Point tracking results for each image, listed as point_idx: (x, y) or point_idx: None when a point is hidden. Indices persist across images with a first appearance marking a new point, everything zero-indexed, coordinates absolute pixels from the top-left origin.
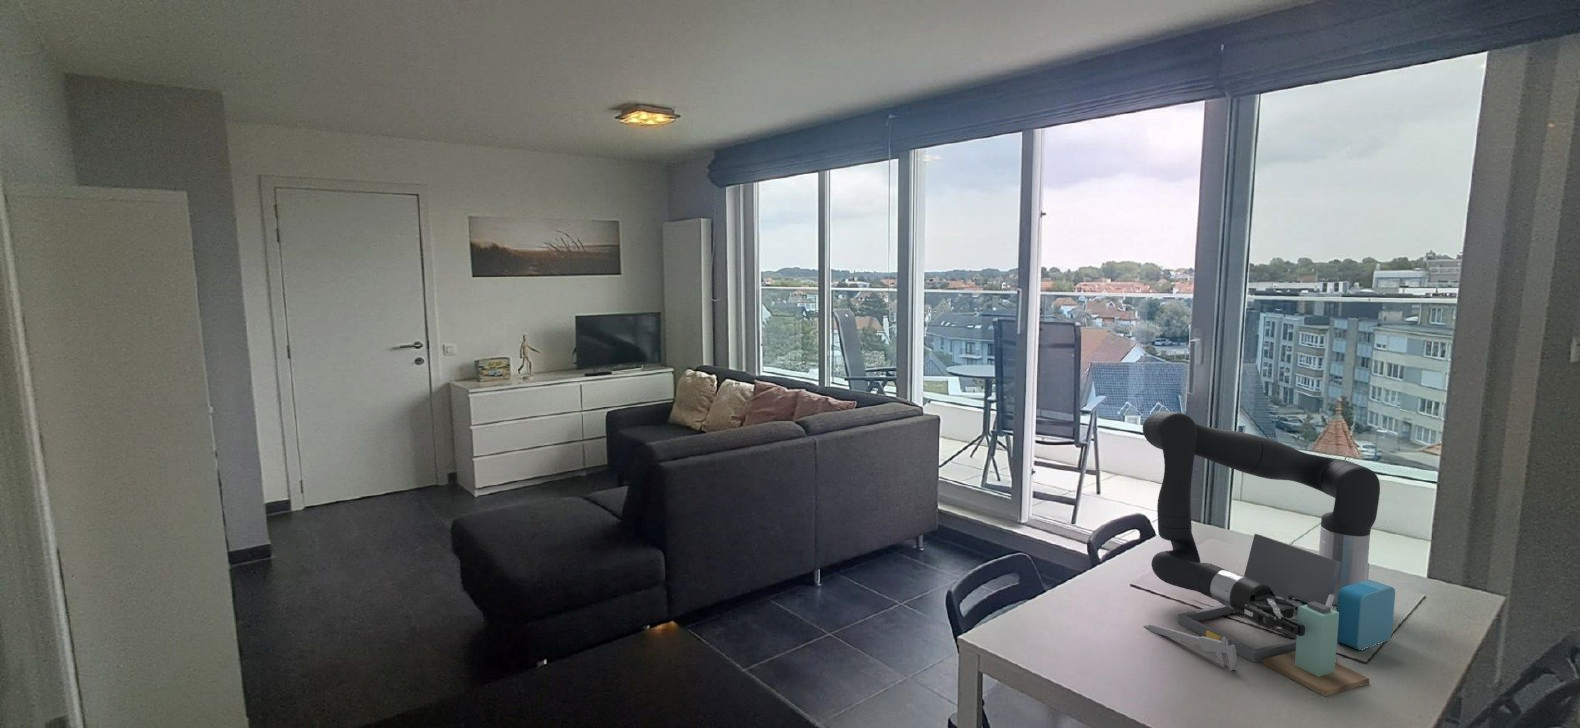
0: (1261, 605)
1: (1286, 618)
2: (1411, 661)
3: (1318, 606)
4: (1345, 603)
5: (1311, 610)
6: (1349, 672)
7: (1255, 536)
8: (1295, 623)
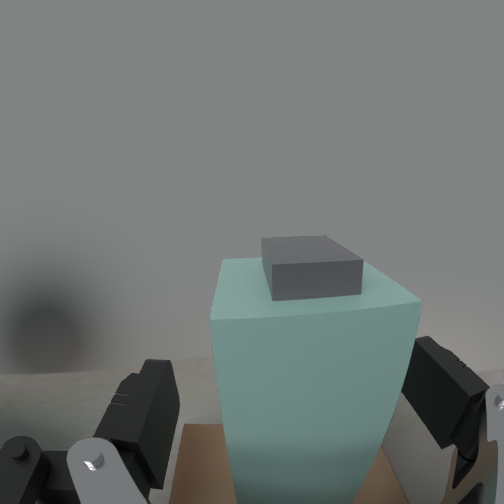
0: None
1: (473, 382)
2: (4, 413)
3: (324, 242)
4: None
5: (368, 273)
6: (198, 455)
7: None
8: (443, 353)
